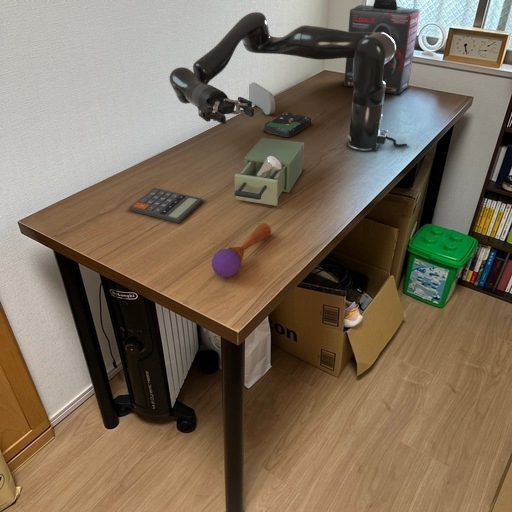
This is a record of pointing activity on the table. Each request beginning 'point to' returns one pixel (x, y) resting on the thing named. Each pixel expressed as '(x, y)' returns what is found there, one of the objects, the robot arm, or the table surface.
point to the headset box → (398, 28)
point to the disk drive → (287, 124)
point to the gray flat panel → (261, 98)
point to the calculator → (166, 205)
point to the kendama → (236, 253)
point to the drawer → (259, 185)
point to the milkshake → (269, 168)
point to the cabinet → (280, 156)
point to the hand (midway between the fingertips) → (239, 116)
